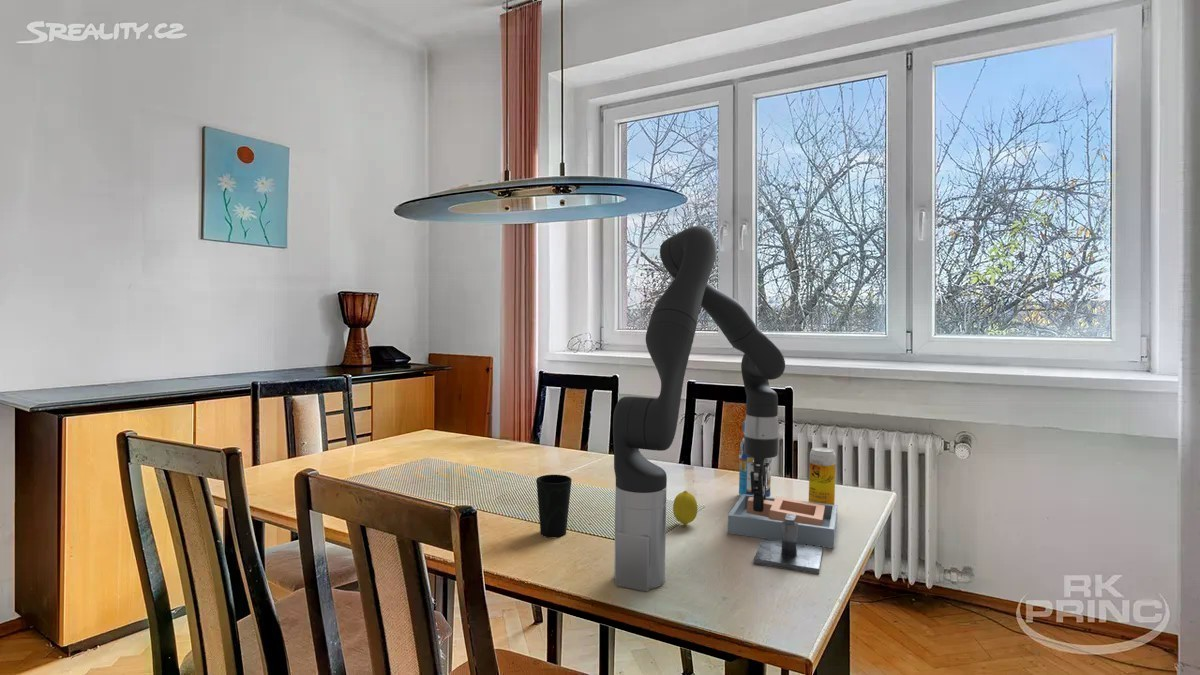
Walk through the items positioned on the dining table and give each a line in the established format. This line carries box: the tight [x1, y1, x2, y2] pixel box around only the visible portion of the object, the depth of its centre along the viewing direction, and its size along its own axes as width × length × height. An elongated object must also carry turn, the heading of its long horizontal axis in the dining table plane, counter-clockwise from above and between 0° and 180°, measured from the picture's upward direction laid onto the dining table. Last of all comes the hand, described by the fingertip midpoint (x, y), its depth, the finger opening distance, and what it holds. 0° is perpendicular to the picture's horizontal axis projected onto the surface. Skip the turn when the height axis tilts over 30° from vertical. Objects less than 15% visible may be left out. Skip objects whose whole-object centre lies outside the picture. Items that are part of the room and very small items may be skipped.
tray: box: [727, 494, 838, 549], centre depth 145 cm, size 18×22×4 cm
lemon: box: [672, 490, 698, 526], centre depth 146 cm, size 6×6×8 cm
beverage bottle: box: [738, 420, 773, 497], centre depth 169 cm, size 8×8×20 cm
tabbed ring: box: [747, 496, 825, 526], centre depth 145 cm, size 11×16×3 cm, turn 68°
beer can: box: [808, 446, 837, 505], centre depth 159 cm, size 6×6×15 cm
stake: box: [753, 514, 824, 575], centre depth 127 cm, size 12×12×8 cm
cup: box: [535, 474, 573, 538], centre depth 139 cm, size 8×8×12 cm
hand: (759, 508), depth 147 cm, fingers closed on tabbed ring, 3 cm apart
